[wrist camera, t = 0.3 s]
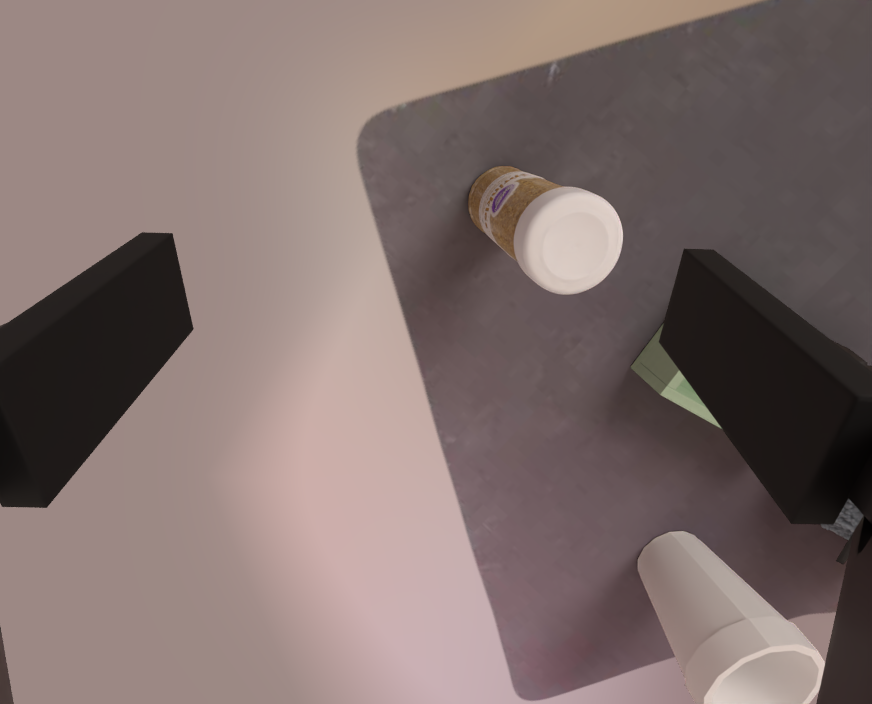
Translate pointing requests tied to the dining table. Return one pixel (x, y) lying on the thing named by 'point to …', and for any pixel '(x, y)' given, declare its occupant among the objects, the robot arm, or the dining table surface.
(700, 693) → the foam cup
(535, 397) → the dining table surface
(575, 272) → the sprinkles bottle
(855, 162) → the dining table surface
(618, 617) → the dining table surface
